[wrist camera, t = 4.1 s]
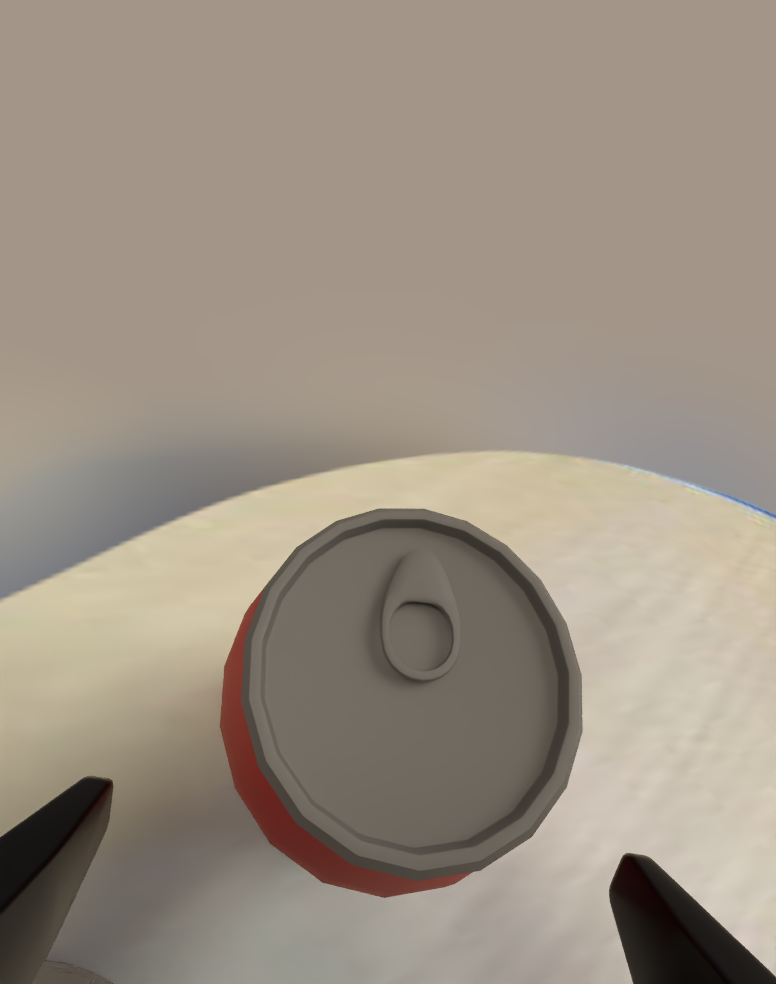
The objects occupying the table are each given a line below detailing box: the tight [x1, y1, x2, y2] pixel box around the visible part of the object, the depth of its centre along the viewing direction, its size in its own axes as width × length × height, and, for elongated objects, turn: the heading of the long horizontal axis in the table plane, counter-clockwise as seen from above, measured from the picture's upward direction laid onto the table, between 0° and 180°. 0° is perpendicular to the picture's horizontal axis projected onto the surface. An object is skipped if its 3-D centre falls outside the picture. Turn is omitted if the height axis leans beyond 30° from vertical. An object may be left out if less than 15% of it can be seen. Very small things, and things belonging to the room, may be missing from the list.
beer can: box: [220, 509, 582, 898], centre depth 12 cm, size 7×7×12 cm
